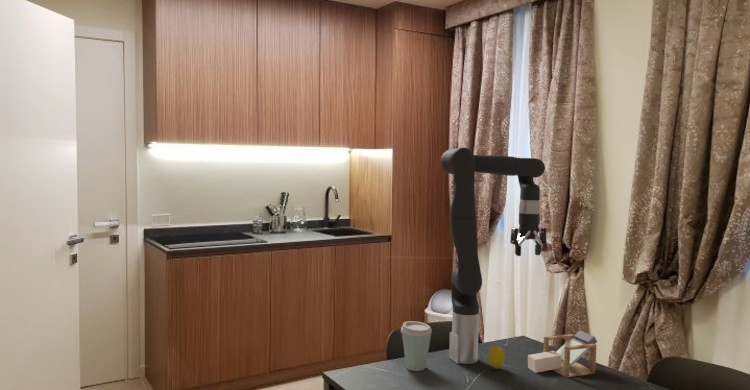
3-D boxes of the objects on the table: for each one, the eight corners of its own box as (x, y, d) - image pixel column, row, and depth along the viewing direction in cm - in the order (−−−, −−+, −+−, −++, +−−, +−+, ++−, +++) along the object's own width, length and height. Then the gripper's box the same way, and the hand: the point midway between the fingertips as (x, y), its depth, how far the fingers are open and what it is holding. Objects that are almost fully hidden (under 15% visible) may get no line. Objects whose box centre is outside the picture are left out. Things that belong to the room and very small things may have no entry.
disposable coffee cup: (433, 364, 186) (434, 321, 185) (429, 375, 175) (430, 330, 175) (402, 361, 188) (403, 318, 187) (397, 372, 178) (398, 327, 177)
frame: (566, 377, 176) (567, 348, 175) (542, 364, 187) (543, 337, 187) (595, 373, 180) (596, 344, 179) (570, 361, 191) (571, 334, 191)
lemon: (504, 372, 179) (505, 349, 179) (487, 371, 180) (488, 347, 180) (504, 366, 184) (504, 343, 184) (487, 365, 185) (488, 342, 185)
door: (572, 367, 178) (569, 362, 178) (554, 358, 187) (551, 353, 186) (599, 342, 182) (596, 337, 181) (580, 334, 190) (577, 329, 190)
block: (561, 367, 182) (535, 372, 179) (553, 363, 186) (528, 367, 184) (560, 355, 182) (534, 359, 179) (553, 350, 186) (527, 355, 183)
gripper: (519, 213, 193) (517, 257, 194) (551, 212, 198) (550, 256, 199) (507, 211, 200) (506, 254, 201) (539, 211, 205) (537, 253, 206)
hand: (528, 255), depth 200 cm, fingers open, 8 cm apart
